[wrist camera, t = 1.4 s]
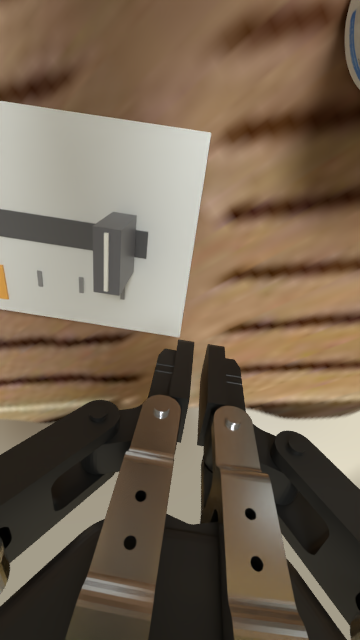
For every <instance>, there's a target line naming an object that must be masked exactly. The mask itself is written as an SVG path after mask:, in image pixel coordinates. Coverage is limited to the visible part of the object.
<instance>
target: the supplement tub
mask: <svg viewBox="0 0 360 640" xmlns="http://www.w3.org/2000/svg"><path fill="white" fill-rule="evenodd" d="M345 56H346V61H347V66H348V69H349V72H350V75H351V77H352V79H353V81H354V83H355V84H356V86H357V87H358V88H359V90H360V0H351V2H350V6H349V10H348V14H347V19H346V26H345Z"/></svg>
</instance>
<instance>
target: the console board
mask: <svg viewBox="0 0 360 640" xmlns="http://www.w3.org/2000/svg"><path fill="white" fill-rule="evenodd" d="M210 138H211V133H210V132H203V131H197V130H190V129H183V128H177V127H170V126H163V125H157V124H150V123H144V122H137V121H130V120H124V119H117V118H110V117H104V116H97V115H91V114H84V113H77V112H71V111H64V110H57V109H51V108H44V107H38V106H31V105H24V104H18V103H11V102H4V101H0V309H3V310H9V311H15V312H22V313H28V314H34V315H41V316H47V317H53V318H60V319H66V320H72V321H79V322H85V323H91V324H98V325H104V326H110V327H116V328H123V329H129V330H135V331H142V332H148V333H154V334H161V335H167V336H173V337H180V331H181V325H182V318H183V312H184V305H185V299H186V293H187V286H188V280H189V273H190V267H191V260H192V254H193V248H194V241H195V235H196V228H197V222H198V215H199V209H200V203H201V196H202V190H203V183H204V177H205V170H206V164H207V158H208V151H209V145H210ZM112 212H118V213H124V214H131V215H137V221H136V239H135V256H134V272H133V274H132V276H131V277H130V279H129V281H128V282H127V284H126V286H125V287H124V289H123V291H122V292H121V294H120V296H116V295H110V294H104V293H97V292H94V290H93V225H95V224H96V223H97V222H99V221H100V220H102V219H103V218H105V217H106V216H107V215H109V214H110V213H112Z"/></svg>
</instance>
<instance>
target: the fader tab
mask: <svg viewBox="0 0 360 640" xmlns="http://www.w3.org/2000/svg"><path fill="white" fill-rule="evenodd" d="M136 221H137V215H131V214H124V213H118V212H112V213H110V214H109V215H107V216H106V217H105V218H103V219H102V220H100V221H99V222H97V223H96V224H95V225H93V290H94V292H97V293H104V294H110V295H116V296H120V294H121V292H122V291H123V289H124V287H125V286H126V284H127V282H128V281H129V279H130V277H131V276H132V274H133V272H134V256H135V239H136Z"/></svg>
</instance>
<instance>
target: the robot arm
mask: <svg viewBox="0 0 360 640" xmlns="http://www.w3.org/2000/svg"><path fill="white" fill-rule="evenodd" d="M193 351H194V342H191V341H184V340H178V345H177V351H176V350H170V349H164V350H163V351H162V352H161V353H160V354H159V356H158V360H157V364H156V368H155V372H154V376H153V380H152V384H151V388H150V392H149V396H148V398H147V399H146V400H145V402H144V403H143V404H142V405H140V406H138V407H136V408H133V409H126V410H119V409H118V408H117V406H116V405H115V404H113V403H111V402H109V401H105V400H96V401H92V402H89V403H87V404H85V405H84V406H82V407H80V408H79V409H77V410H75V411H73V412H72V413H70V414H68V415H67V416H65V417H63V418H62V419H60V420H58V421H57V422H55V423H53V424H52V425H50V426H48V427H47V428H45V429H43V430H41V431H40V432H38V433H37V434H35V435H33V436H31V437H30V438H28V439H26V440H25V441H23V442H21V443H20V444H18V445H16V446H15V447H13V448H11V449H10V450H8V451H6V452H4V453H3V454H1V455H0V594H1V593H2V591H3V589H4V588H5V586H6V583H7V581H8V578H9V573H10V562H12V561H13V560H14V559H15V558H16V557H17V556H19V555H20V554H21V553H22V552H23V551H25V550H26V549H27V548H28V547H29V546H30V545H32V544H33V543H34V542H35V541H37V540H38V539H39V538H40V537H41V536H42V535H44V534H45V533H46V532H47V531H48V530H50V529H51V528H52V527H53V526H54V525H55V524H57V523H58V522H59V521H60V520H61V519H63V518H64V517H65V516H66V515H67V514H68V513H69V512H71V511H72V510H73V509H74V508H76V507H77V506H78V505H79V504H80V503H81V502H83V501H84V500H85V499H86V498H87V497H89V496H90V495H91V494H92V493H93V492H94V491H95V490H97V489H98V488H99V487H100V486H102V485H103V484H104V483H105V482H106V481H107V480H108V479H110V478H111V477H112V476H113V475H114V473H115V472H118V471H120V472H119V475H118V478H117V481H116V485H115V488H114V491H113V494H112V498H111V501H110V504H109V507H108V510H107V514H106V517H105V519H104V520H101V521H99V522H97V523H95V524H93V525H92V526H90V527H89V528H87V529H86V530H84V531H83V532H82V533H81V534H80V535H78V536H77V537H76V538H75V539H74V540H73V541H72V542H71V543H70V544H69V545H68V546H66V547H65V548H64V549H63V550H62V551H61V552H60V553H59V554H58V555H56V556H55V557H54V558H53V559H52V560H51V561H50V562H49V563H48V564H47V565H46V566H44V567H43V568H42V569H41V570H40V571H39V572H38V573H37V574H36V575H34V576H33V577H32V578H31V579H30V580H29V581H28V582H27V583H26V584H25V585H24V586H22V587H21V588H20V589H19V590H18V591H17V592H16V593H15V594H14V595H12V596H11V597H10V598H9V599H8V600H7V601H6V602H5V603H4V604H3V605H2V606H0V640H347V639H346V638H345V637H344V635H343V634H342V633H341V631H340V630H339V628H338V627H337V626H336V624H335V623H334V622H333V620H332V619H331V617H330V616H329V615H328V613H327V612H326V611H325V609H324V608H323V606H322V605H321V604H320V602H319V601H318V600H317V598H316V597H315V595H314V594H313V593H312V591H311V590H310V589H309V587H308V586H307V584H306V583H305V581H304V580H303V579H302V577H301V576H300V575H299V573H298V572H297V570H296V569H295V568H294V567H293V566H292V564H291V563H290V562H289V561H288V560H287V559H286V555H285V550H284V546H283V540H282V536H281V533H282V534H283V536H284V537H285V539H286V540H287V541H288V543H289V544H290V545H291V547H292V548H293V549H294V551H295V552H296V553H297V555H298V556H299V557H300V559H301V560H302V562H303V563H304V564H305V566H306V567H307V568H308V570H309V571H310V572H311V574H312V575H313V576H314V578H315V579H316V581H317V582H318V583H319V585H320V586H321V587H322V589H323V590H324V591H325V593H326V594H327V595H328V597H329V598H330V599H331V601H332V602H333V603H334V605H335V606H336V608H337V609H338V610H339V612H340V613H341V614H342V615H343V617H344V618H345V620H346V621H347V622H348V624H349V625H350V636H351V640H360V489H359V488H358V487H357V486H355V485H354V484H353V483H352V482H351V481H350V480H349V479H348V478H347V477H346V476H345V475H344V474H343V473H342V472H341V471H340V470H339V469H338V468H337V467H336V466H335V465H334V464H333V463H332V462H331V461H330V460H329V459H328V458H326V456H325V455H324V454H323V453H322V452H321V451H320V450H319V449H318V448H317V447H315V446H314V445H313V444H312V443H311V442H310V441H309V440H308V439H307V438H306V437H304V436H303V435H301V434H298V433H297V432H293V431H283V432H280V433H279V434H278V435H277V436H274V435H272V434H270V433H267V432H265V431H263V430H261V429H259V428H258V427H256V426H255V425H254V424H253V423H252V420H251V418H250V417H249V415H248V414H247V413H246V410H245V402H244V395H243V387H242V379H241V371H240V367H239V366H238V364H237V363H236V361H235V360H233V359H226V358H225V348H224V347H222V346H216V345H210V344H208V346H207V350H206V355H205V359H204V364H203V368H202V374H201V381H200V398H199V420H198V441H197V445H200V446H204V455H203V459H202V463H201V519H200V524H195V525H191V524H187V523H185V522H183V521H181V520H179V519H177V518H174V517H172V516H170V515H168V514H166V511H167V505H168V498H169V491H170V485H171V478H172V471H173V464H174V454H175V450H176V445H177V442H181V439H182V434H183V429H184V424H185V418H186V414H187V409H188V404H189V398H190V386H191V375H192V363H193Z"/></svg>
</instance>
